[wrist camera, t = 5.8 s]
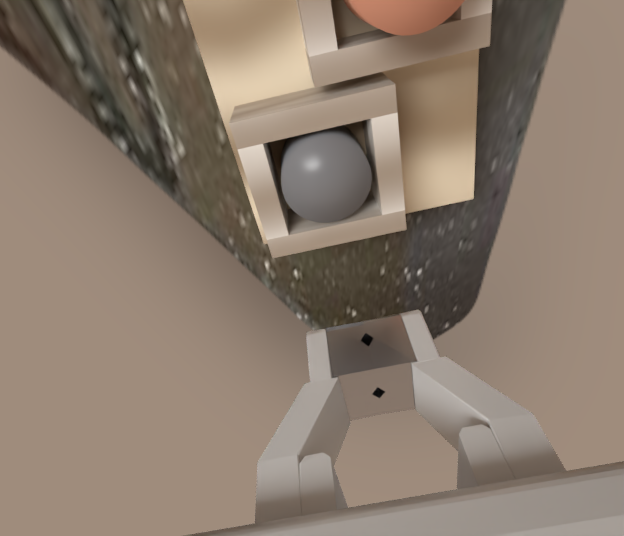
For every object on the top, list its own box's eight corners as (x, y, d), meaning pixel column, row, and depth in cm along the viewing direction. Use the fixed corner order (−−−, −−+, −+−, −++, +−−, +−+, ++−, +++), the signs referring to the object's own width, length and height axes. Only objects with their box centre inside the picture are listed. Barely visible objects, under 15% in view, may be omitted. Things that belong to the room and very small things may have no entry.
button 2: (271, 129, 21) (270, 149, 18) (355, 110, 20) (365, 127, 18) (291, 204, 23) (292, 230, 21) (366, 188, 23) (376, 212, 21)
